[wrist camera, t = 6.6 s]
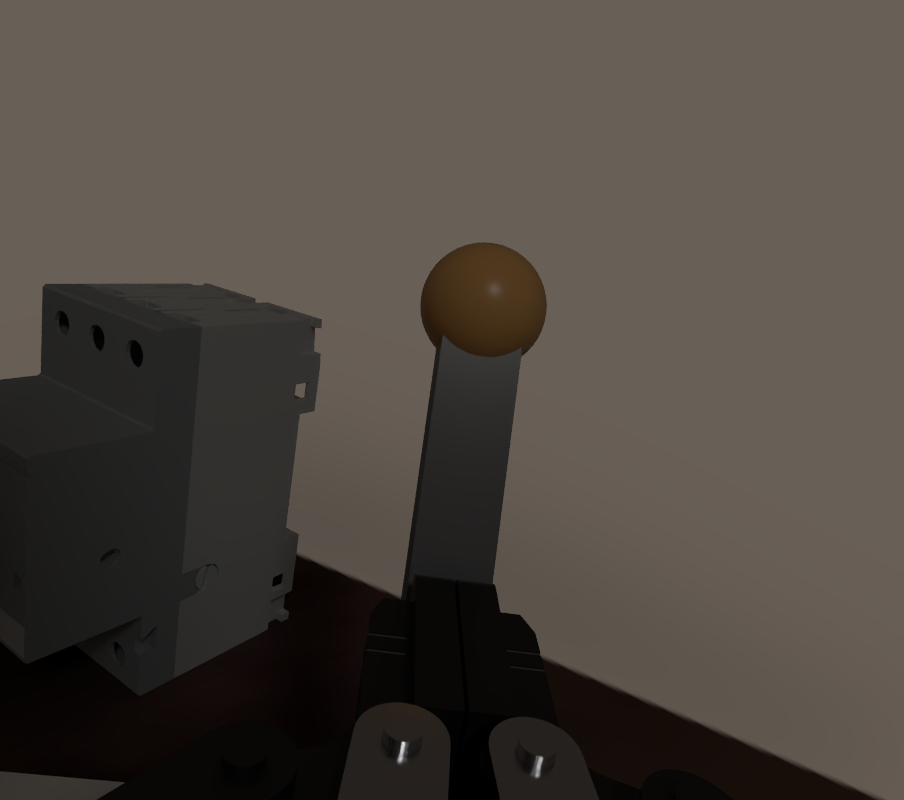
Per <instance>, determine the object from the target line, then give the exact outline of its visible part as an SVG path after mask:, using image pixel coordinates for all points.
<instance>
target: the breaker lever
mask: <svg viewBox="0 0 904 800" xmlns="http://www.w3.org/2000/svg"><path fill="white" fill-rule="evenodd" d="M546 307H547V304H546V295H545V290H544V287H543V284H542V281H541V279H540V277H539V275H538V273H537V272H536V270H535V269H534V267H533V266H532V265H531V264H530V263H529V262H528V261H527V260H526V259H525V258H524V257H523V256H522V255H520V254H519V253H517V252H516V251H514V250H512V249H510V248H508V247H506V246H503V245H498V244H493V243H475V244H470V245H465V246H463V247H460V248H457V249H456V250H454V251H452V252H450V253H449V254H447V255H446V256H445V257H443V258H442V259H441V260H440V261H439V262H438V263H437V264H436V265H435V267H434V268H433V270H432V271H431V272H430V274H429V276H428V278H427V280H426V282H425V284H424V287H423V291H422V296H421V317H422V322H423V325H424V328H425V331H426V333H427V335H428V337H429V339H430V341H431V342H432V343H433V345H434V346H435V347H436V355H435V362H434V369H433V376H432V383H431V390H430V398H429V404H428V412H427V419H426V426H425V433H424V440H423V447H422V454H421V462H420V469H419V476H418V483H417V490H416V498H415V505H414V511H413V518H412V526H411V533H410V540H409V547H408V554H407V561H406V569H405V575H404V583H403V590H402V597H401V600H405V601H410V597H411V591H412V586H413V581H414V577H415V574H418V575H426V576H433V577H441V578H449V579H454V582H455V580H456V579H457V580H465V581H473V582H480V583H488V584H492V583H493V574H494V567H495V559H496V550H497V543H498V535H499V527H500V519H501V511H502V503H503V496H504V487H505V479H506V471H507V464H508V456H509V448H510V439H511V432H512V424H513V416H514V408H515V399H516V392H517V384H518V376H519V369H520V361H521V357H522V355H524V354H525V353H526V352H527V351H528V350H529V349H530V348H531V346H533V345H534V343H535V342H536V340H537V339H538V337H539V335H540V333H541V331H542V328H543V325H544V321H545V316H546Z"/></svg>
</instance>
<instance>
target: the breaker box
mask: <svg viewBox="0 0 904 800" xmlns="http://www.w3.org/2000/svg"><path fill="white" fill-rule="evenodd" d="M124 783H125V782H114V781H102V780H91V779H80V778H69V777H57V776H46V775H35V774H24V773H12V772H1V771H0V800H97V799H98V798H100V797H102V796H103V795H105V794H107V793H108V792H110V791H112V790H113V789H115V788H117V787H119V786H120V785H122V784H124Z"/></svg>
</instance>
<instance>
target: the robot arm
mask: <svg viewBox="0 0 904 800" xmlns="http://www.w3.org/2000/svg"><path fill="white" fill-rule="evenodd" d="M97 800H733V799H732V798H730V797H729V796H728V795H727V794H725V793H724V792H723V791H721V790H720V789H719V788H717V787H716V786H715V785H713V784H712V783H710V782H708V781H707V780H705V779H703V778H701V777H699V776H696V775H694V774H691V773H688V772H685V771H680V770H670V769H669V770H661V771H657V772H655V773H653V774H651V775H650V776H648V777H647V778H646V780H645V781H644V783H643V786H642V789H641V790H639V789H637V788H634V787H631V786H629V785H626V784H623V783H621V782H618V781H615V780H613V779H610V778H607V777H605V776H603V775H601V774H599V773H597V772H595V771H593V770H592V769H590V768H589V767H587V766H586V763H585V760H584V758H583V755H582V753H581V751H580V748H579V747H578V745H577V744H576V742H575V741H574V740H573V739H572V738H571V737H570V736H569V735H568V734H567V733H566V732H564V731H563V730H562V729H560V728H559V725H558V721H557V717H556V713H555V710H554V706H553V702H552V698H551V694H550V690H549V686H548V682H547V678H546V674H545V673H544V666H543V662H542V658H541V656H540V650H539V646H538V643H537V638H536V634H535V632H534V631H533V630H532V629H531V628H530V626H529V625H528V624H527V623H526V621H525V620H524V619H523V618H522V617H521V616H520V615H517V614H509V613H501V612H500V608H499V603H498V597H497V592H496V587H495V585H494V584H488V583H480V582H473V581H465V580H457V579H456V580H455V582H454V579H449V578H441V577H433V576H426V575H418V574H415V577H414V581H413V586H412V591H411V597H410V601H405V600H398V599H390V598H383V600H382V601H381V602H380V603H379V604H378V605H377V606H376V607H375V609H374V610H373V611H372V612H371V614H370V620H369V627H368V633H367V639H366V646H365V652H364V658H363V664H362V671H361V677H360V683H359V691H358V700H357V708H356V716H355V723H354V724H353V726H352V727H351V728H350V729H349V730H348V731H347V732H346V733H345V734H343V735H342V736H340V737H339V738H337V739H335V740H333V741H331V742H328V743H325V744H323V745H318V746H314V747H307V748H301V749H296V746H295V744H294V743H293V741H292V740H291V738H290V737H289V736H287V735H286V734H285V733H284V732H282V731H281V730H279V729H278V728H275V727H273V726H271V725H268V724H264V723H259V722H236V723H231V724H227V725H224V726H221V727H218V728H216V729H215V730H213V731H211V732H209V733H207V734H206V735H204V736H202V737H201V738H199V739H197V740H196V741H194V742H192V743H190V744H189V745H187V746H185V747H184V748H182V749H180V750H179V751H177V752H175V753H174V754H172V755H170V756H169V757H167V758H165V759H164V760H162V761H160V762H159V763H157V764H155V765H154V766H152V767H150V768H149V769H147V770H145V771H144V772H142V773H140V774H139V775H137V776H135V777H134V778H132V779H130V780H129V781H127V782H125V783H124V784H122V785H120V786H119V787H117V788H115V789H113V790H112V791H110V792H108V793H107V794H105V795H103V796H102V797H100V798H98V799H97Z"/></svg>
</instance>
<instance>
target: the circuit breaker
mask: <svg viewBox="0 0 904 800" xmlns="http://www.w3.org/2000/svg"><path fill="white" fill-rule="evenodd" d="M321 322H322V320H321V319H318V318H315V317H312V316H309V315H306V314H302V313H299V312H296V311H293V310H290V309H287V308H284V307H280V306H277V305H274V304H271V303H255V298H252V297H249V296H246V295H242V294H239V293H236V292H233V291H230V290H226V289H223V288H220V287H217V286H214V285H211V284H204V285H192V284H45V285H44V286H43V301H42V346H41V347H42V348H41V373H40V374H39V375H37V376H29V377H21V378H11V379H2V380H0V642H1V643H2V644H3V645H4V646H6V647H7V648H8V649H9V650H10V651H11V652H12V653H13V654H15V655H16V656H17V657H18V658H19V659H20V660H21V661H23V662H24V663H26V664H28V663H31V662H33V661H35V660H38V659H40V658H43V657H45V656H47V655H50V654H52V653H55V652H57V651H60V650H62V649H64V648H67V647H69V646H72V645H74V644H75V645H76V646H77V647H79V648H80V649H81V650H82V651H84V652H85V653H86V654H87V655H89V656H90V657H91V658H92V659H94V660H95V661H96V662H97V663H98V664H100V665H101V666H102V667H103V668H105V669H106V670H107V671H108V672H110V673H111V674H112V675H113V676H115V677H116V678H117V679H118V680H120V681H121V682H122V683H123V684H125V685H126V686H127V687H128V688H130V689H131V690H132V691H133V692H135V693H136V694H137V695H139V696H141V695H143V694H145V693H147V692H148V691H150V690H152V689H154V688H156V687H158V686H160V685H162V684H164V683H166V682H168V681H170V680H172V679H173V678H175V677H177V676H179V675H181V674H183V673H185V672H187V671H189V670H191V669H193V668H194V667H196V666H198V665H200V664H202V663H204V662H206V661H208V660H210V659H212V658H214V657H216V656H217V655H219V654H221V653H223V652H225V651H227V650H229V649H231V648H233V647H235V646H237V645H238V644H240V643H242V642H244V641H246V640H248V639H250V638H252V637H254V636H256V635H258V634H260V633H261V632H263V631H265V630H267V629H268V622H270V621H272V620H274V619H277V620H279V621H281V622H282V621H284V620H286V619H288V615H289V612H288V611H287V610H285V609H283V607H284V599H285V594H286V593H288V592H290V591H292V583H293V575H294V567H295V559H296V551H297V543H298V534H297V533H295V532H293V531H291V530H289V529H288V528H286V522H287V514H288V506H289V498H290V489H291V481H292V473H293V465H294V456H295V448H296V439H297V431H298V422H299V415H300V414H302V413H307V412H311V411H314V409H315V401H316V392H317V385H318V377H319V369H320V353H317V352H314V339H315V327H316V328H321ZM301 383H306V388H305V396H304V398H300V397H297V396H295V387H296V384H301ZM282 573H283V576H282V583H281V584H279V585H277V586H274V587H273V586H272V582H273V577H275V576H278V575H280V574H282Z"/></svg>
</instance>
